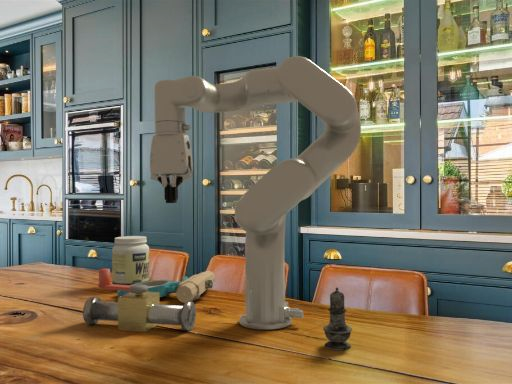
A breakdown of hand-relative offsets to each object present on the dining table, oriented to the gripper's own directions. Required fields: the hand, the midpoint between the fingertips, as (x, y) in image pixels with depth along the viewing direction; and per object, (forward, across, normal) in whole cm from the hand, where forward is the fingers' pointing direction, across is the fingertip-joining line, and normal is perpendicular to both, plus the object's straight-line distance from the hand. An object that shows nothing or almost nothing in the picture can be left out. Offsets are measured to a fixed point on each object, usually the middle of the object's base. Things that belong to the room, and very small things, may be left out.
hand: (171, 202), depth 116 cm
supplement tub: (+29, +29, -31) cm, 52 cm away
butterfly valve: (+29, +12, -20) cm, 38 cm away
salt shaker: (+29, -42, +13) cm, 53 cm away
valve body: (+29, +5, +9) cm, 31 cm away
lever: (+21, +9, +8) cm, 24 cm away
